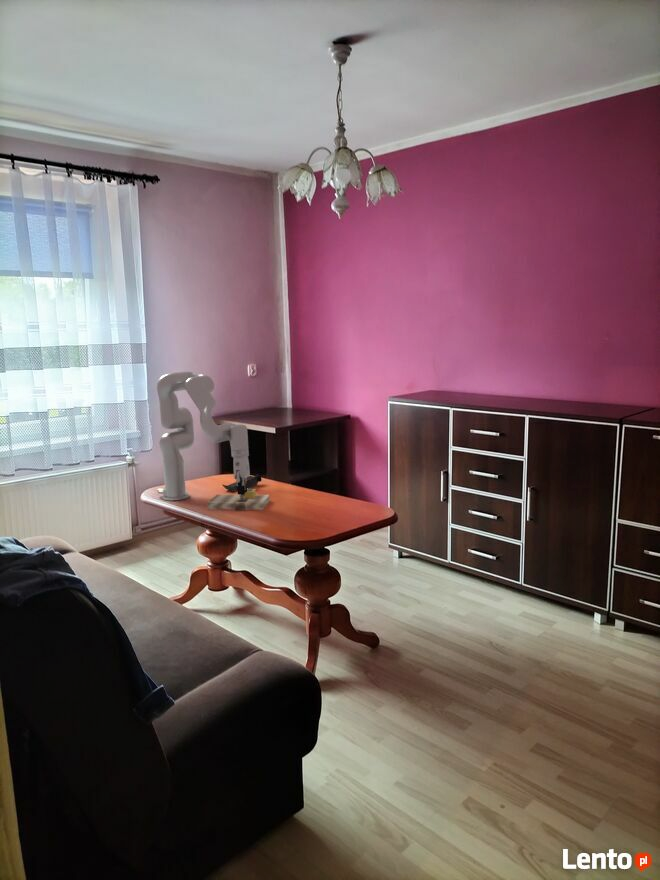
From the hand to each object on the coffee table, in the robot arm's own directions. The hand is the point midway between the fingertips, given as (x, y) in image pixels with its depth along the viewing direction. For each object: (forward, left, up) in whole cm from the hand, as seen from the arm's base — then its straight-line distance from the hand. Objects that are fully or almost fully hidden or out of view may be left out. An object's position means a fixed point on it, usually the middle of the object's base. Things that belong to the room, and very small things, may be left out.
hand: (242, 492), depth 287 cm
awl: (0, 0, -4) cm, 4 cm away
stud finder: (+1, +7, -3) cm, 8 cm away
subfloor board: (-3, +3, -7) cm, 8 cm away
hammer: (-9, +34, -7) cm, 35 cm away
